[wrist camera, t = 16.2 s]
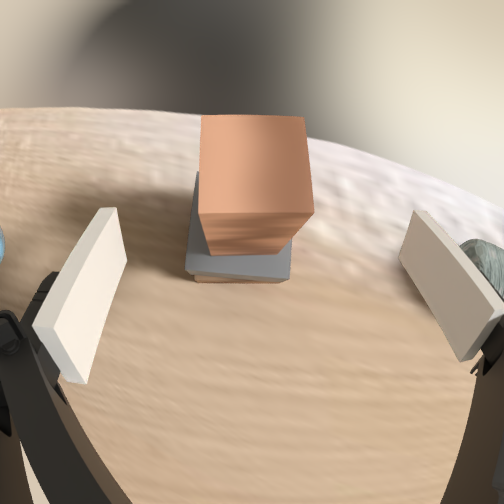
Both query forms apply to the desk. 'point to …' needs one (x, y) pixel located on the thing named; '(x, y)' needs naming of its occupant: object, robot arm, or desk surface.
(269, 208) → the tall block
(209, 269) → the top slab
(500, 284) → the spool
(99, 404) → the desk surface
